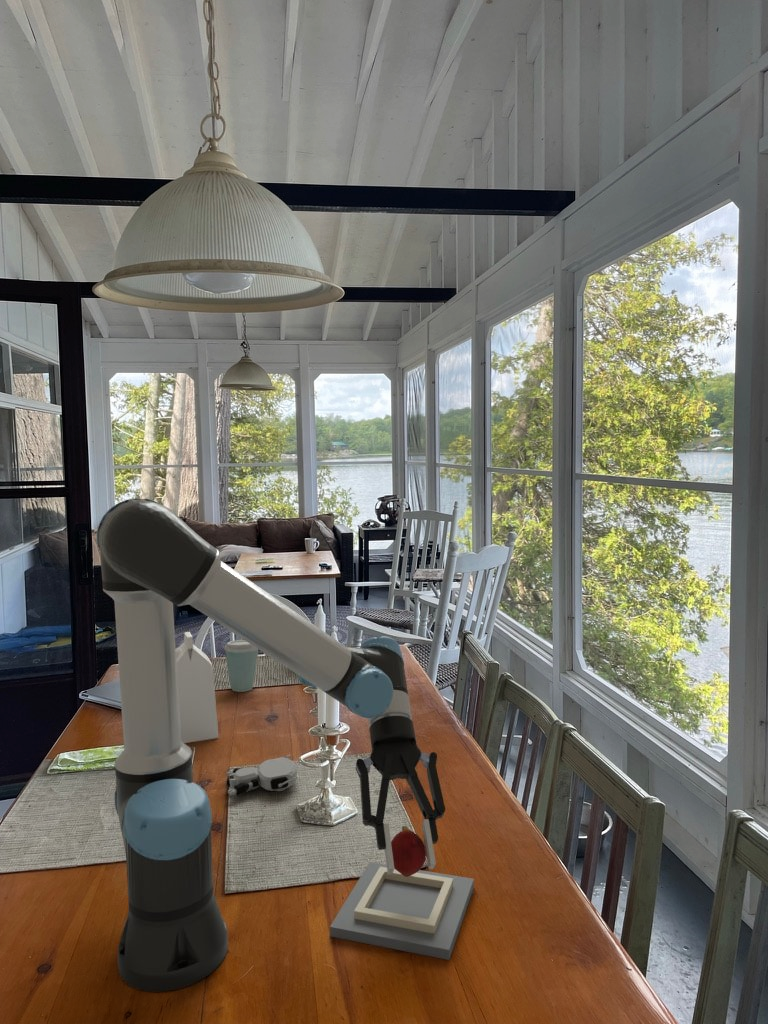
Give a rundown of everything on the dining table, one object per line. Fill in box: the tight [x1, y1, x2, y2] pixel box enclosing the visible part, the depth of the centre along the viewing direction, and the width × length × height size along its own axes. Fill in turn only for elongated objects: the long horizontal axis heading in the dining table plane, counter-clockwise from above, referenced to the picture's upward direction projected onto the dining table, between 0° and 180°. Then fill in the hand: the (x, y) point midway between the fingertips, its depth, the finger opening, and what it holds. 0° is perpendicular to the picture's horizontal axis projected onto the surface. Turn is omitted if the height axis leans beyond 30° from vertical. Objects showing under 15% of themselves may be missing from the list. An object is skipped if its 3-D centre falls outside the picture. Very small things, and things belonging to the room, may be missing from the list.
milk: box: [175, 631, 220, 744], centre depth 189 cm, size 12×12×26 cm
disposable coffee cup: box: [223, 639, 259, 693], centre depth 225 cm, size 11×11×15 cm
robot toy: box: [226, 754, 298, 796], centre depth 158 cm, size 12×4×15 cm
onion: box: [391, 825, 427, 877], centre depth 114 cm, size 6×6×8 cm
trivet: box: [329, 861, 475, 961], centre depth 114 cm, size 18×18×3 cm
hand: (411, 868), depth 110 cm, fingers closed on onion, 6 cm apart
